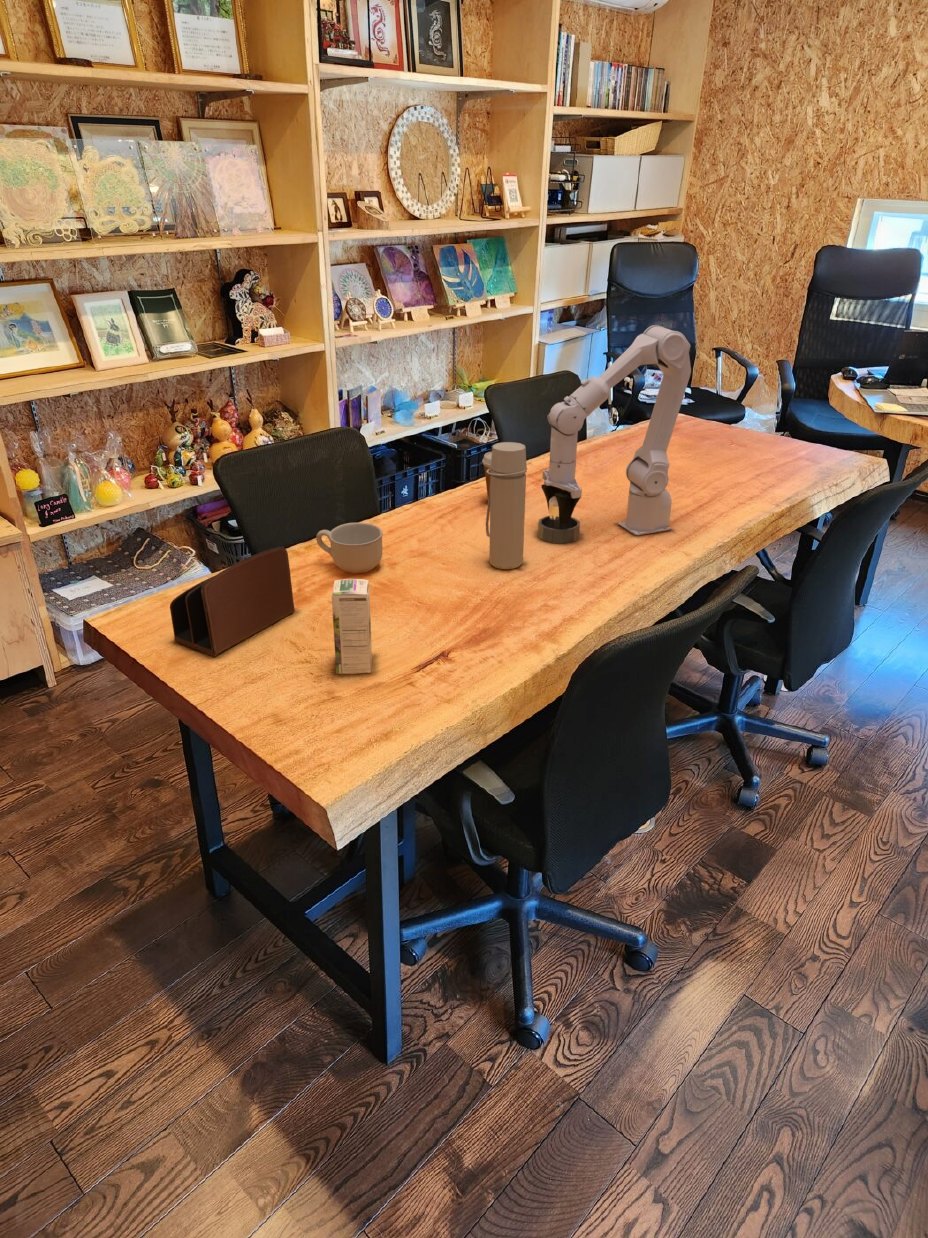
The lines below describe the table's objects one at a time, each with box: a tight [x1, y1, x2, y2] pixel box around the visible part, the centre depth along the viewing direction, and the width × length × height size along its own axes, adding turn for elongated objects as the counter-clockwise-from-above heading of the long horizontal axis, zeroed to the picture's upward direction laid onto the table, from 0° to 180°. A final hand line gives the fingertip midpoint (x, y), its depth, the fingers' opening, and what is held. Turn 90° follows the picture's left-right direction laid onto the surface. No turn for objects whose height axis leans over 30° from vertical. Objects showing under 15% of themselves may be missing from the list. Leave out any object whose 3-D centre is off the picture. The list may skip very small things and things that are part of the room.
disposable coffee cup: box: [482, 451, 492, 499], centre depth 203 cm, size 10×10×12 cm
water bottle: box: [485, 441, 528, 570], centre depth 167 cm, size 9×8×25 cm
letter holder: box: [169, 546, 296, 657], centre depth 145 cm, size 10×20×14 cm, turn 148°
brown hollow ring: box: [537, 515, 581, 545], centre depth 186 cm, size 9×9×3 cm
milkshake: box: [548, 496, 566, 529], centre depth 184 cm, size 4×5×10 cm
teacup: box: [315, 521, 383, 575], centre depth 170 cm, size 14×11×8 cm
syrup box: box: [331, 578, 373, 675], centre depth 133 cm, size 6×6×14 cm
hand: (559, 518), depth 185 cm, fingers closed on milkshake, 4 cm apart
